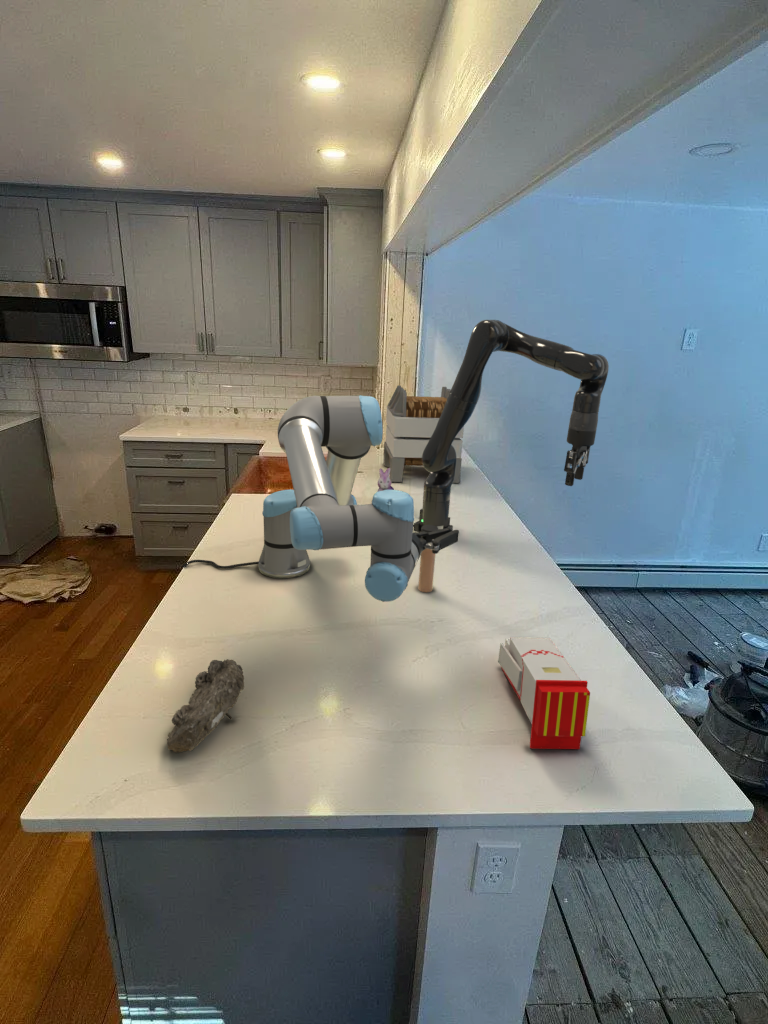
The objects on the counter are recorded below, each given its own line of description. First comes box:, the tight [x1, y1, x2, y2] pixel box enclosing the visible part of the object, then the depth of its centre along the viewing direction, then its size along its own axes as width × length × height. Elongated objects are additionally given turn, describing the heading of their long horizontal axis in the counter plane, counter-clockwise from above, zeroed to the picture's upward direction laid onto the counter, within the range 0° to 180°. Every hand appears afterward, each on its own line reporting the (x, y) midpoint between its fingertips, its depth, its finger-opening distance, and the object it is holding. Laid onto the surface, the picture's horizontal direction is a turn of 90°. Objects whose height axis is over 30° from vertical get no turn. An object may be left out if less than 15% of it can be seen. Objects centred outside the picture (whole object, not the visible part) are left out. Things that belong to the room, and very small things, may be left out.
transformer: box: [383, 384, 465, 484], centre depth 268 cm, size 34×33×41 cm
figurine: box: [376, 467, 395, 492], centre depth 226 cm, size 9×10×15 cm
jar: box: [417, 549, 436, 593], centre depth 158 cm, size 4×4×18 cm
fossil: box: [166, 658, 245, 754], centre depth 106 cm, size 22×10×15 cm
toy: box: [497, 636, 591, 750], centre depth 115 cm, size 12×13×30 cm
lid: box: [421, 525, 438, 533], centre depth 155 cm, size 5×5×2 cm
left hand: (419, 518), depth 135 cm, fingers open, 13 cm apart
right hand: (573, 482), depth 165 cm, fingers open, 8 cm apart
